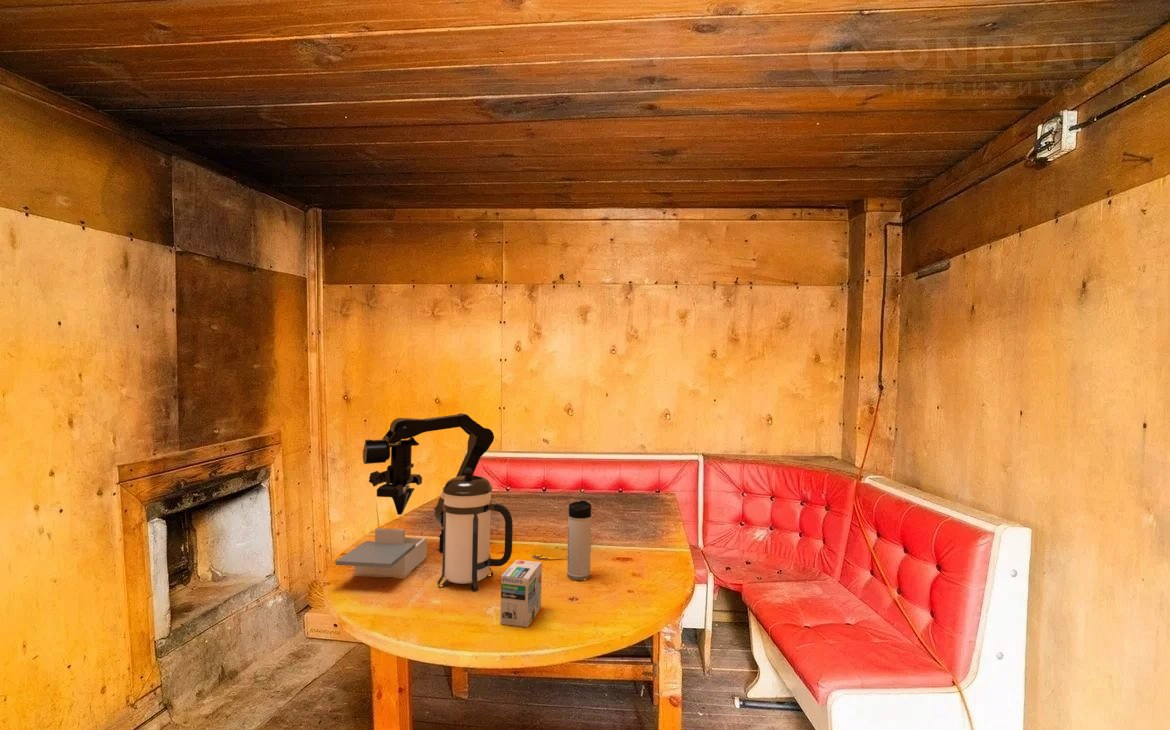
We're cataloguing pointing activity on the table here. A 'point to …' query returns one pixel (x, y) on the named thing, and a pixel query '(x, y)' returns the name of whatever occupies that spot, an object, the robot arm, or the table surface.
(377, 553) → the slate lid
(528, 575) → the light bulb box
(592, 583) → the table surface
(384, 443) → the robot arm
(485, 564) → the coffee press
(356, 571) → the grey parts tub
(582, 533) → the travel mug
